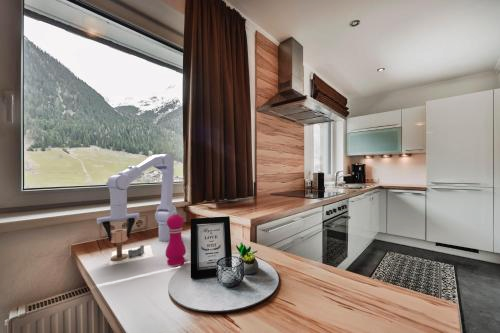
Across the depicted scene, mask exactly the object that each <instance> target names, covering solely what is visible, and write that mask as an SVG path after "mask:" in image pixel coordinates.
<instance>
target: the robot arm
mask: <svg viewBox="0 0 500 333" xmlns="http://www.w3.org/2000/svg"><path fill="white" fill-rule="evenodd" d="M174 163H175V159H174V157H173V155H171V154H170V153H164V154H163V153H162V154H153V155H151V156H149V157H148V158H147V159H145V160H143V161H142V162H141V163H139V164H138V165H129V166H127V167H126V169H125V170H123V171H118V173H117V175H116V174H115V175H111V176H110V177H109V178H108V179H107V182H106V187H107V188H108V190H109V198H110V200H109V201H110V202H109V203H110V204H109V206H110V208H109V210H110V215H109V216H108V215H107V216H103V217H97V218H96V224H97V225H99V224H102V226H103V227H104V229H105V231H106V235H107V239H108V240H107V241H108V242H111V231H112V230H111V227H112V225H111V222H117V221H118V222H119V221H124V220H126V229H127V239H128V238H130V236H131V231H132V229H133V226H134V225H135V222H136V219H140V213H139V212H134V213H133V212H132V213H128V194H127V193H128V188H129V187H130V186H131V183H133V182H134V181H136V180H137V179H139V178H141V177H142V174H143V172H146V171H147V170H148V169H151V168H155V169H157V170H158V171H159V172H161V173H162V178H161V194H160V204H158V205H157V207H156V212H155V213H154V218H155V221H156V222H157V224H158V241H159V242H169V240H170V233H169V232H168V231H169V230H168V229H169V227H168V225H167V220H168V218H169V217H170V216H172V215H173V212H174V211H177V207H176V206H175V205H174V204H173V193H174V192H173V191H174V174H175V169H174V167H175V166H174V165H175V164H174Z"/></svg>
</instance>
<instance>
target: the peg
mask: <svg viewBox="0 0 500 333" xmlns="http://www.w3.org/2000/svg"><path fill="white" fill-rule="evenodd" d="M122 250H123V245H122V244H117V245H116V251H117V255H115V256H112V255H111V256H112V257H110V260H111V261H120V260H124V259H126V258H127V257H128V254H122Z"/></svg>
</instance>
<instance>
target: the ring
mask: <svg viewBox="0 0 500 333" xmlns="http://www.w3.org/2000/svg"><path fill="white" fill-rule="evenodd" d="M127 240H128V237H127V228H120V229H119V228H118V229H114V230H111V241H110V243H111V244H118V243H124V242H126V241H127Z"/></svg>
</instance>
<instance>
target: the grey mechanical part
mask: <svg viewBox="0 0 500 333" xmlns="http://www.w3.org/2000/svg"><path fill="white" fill-rule="evenodd" d="M144 246H145V245H139V247H140V248H138V249H136V250H128V258H132V257H136V256H141V255H142V253H144Z"/></svg>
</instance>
